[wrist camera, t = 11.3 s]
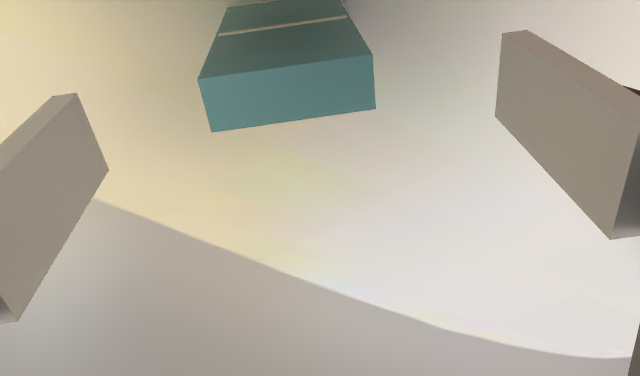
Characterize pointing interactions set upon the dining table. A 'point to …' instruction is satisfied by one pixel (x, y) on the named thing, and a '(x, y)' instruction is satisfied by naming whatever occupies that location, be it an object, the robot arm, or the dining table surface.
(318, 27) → the domino
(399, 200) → the dining table surface
